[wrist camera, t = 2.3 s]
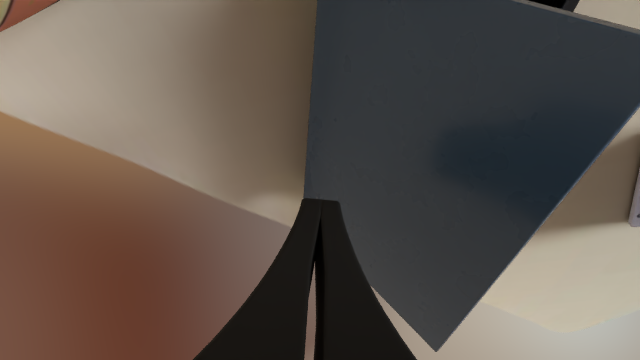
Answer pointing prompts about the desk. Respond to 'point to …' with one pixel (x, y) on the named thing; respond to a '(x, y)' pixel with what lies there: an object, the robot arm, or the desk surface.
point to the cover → (457, 136)
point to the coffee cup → (20, 10)
